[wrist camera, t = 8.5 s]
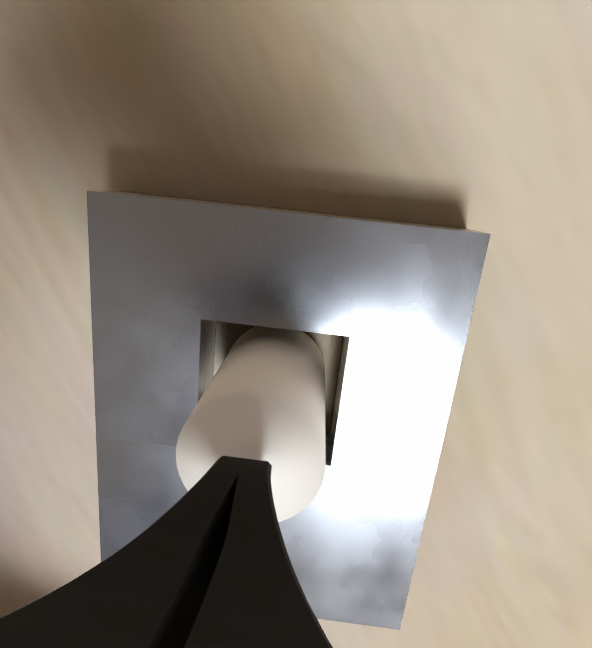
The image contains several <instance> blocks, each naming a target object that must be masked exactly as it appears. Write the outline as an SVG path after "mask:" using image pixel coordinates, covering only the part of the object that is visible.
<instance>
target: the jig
mask: <svg viewBox="0 0 592 648" xmlns="http://www.w3.org/2000/svg"><path fill="white" fill-rule="evenodd" d="M87 208H88V234H89V260H90V286H91V312H92V338H93V364H94V390H95V416H96V442H97V468H98V494H99V520H100V546H101V562H102V561H104V560H105V559H107V558H108V557H110V556H111V555H113V554H114V553H116V552H117V551H118V550H120V549H121V548H123V547H124V546H125V545H127V544H128V543H129V542H131V541H132V540H133V539H135V538H136V537H137V536H138V535H140V534H141V533H142V532H143V531H145V530H146V529H147V528H148V527H150V526H151V525H152V524H153V523H154V522H155V521H156V520H158V519H159V518H160V517H161V516H162V515H163V514H164V513H166V512H167V511H168V510H169V509H170V508H171V507H172V506H173V505H175V504H176V503H177V502H178V501H179V500H180V499H181V498H182V497H183V496H184V495H185V494H186V493H187V492H188V491H187V489H186V488H185V486H184V484H183V483H182V480H181V478H180V476H179V472H178V469H177V464H176V446H177V441H178V438H179V435H180V432H181V430H182V428H183V426H184V425H185V423H186V421H187V420H188V418H189V417H190V415H191V413H192V412H193V410H194V408H195V407H196V405H197V404H198V402H199V400H200V399H201V397H202V395H203V394H204V392H205V390H206V389H207V387H208V386H209V384H210V382H211V381H212V379H213V373H214V353H215V333H216V321H220V322H228V323H237V324H245V325H254V326H263V327H271V328H280V329H288V330H297V331H306V332H314V333H323V334H331V335H340V336H344V340H343V347H342V354H341V361H340V368H339V375H338V382H337V389H336V396H335V403H334V410H333V417H332V425H331V432H330V434H329V433H325V453H326V468H325V476H324V479H323V483H322V486H321V488H320V490H319V492H318V494H317V495H316V497H315V498H314V499H313V501H312V502H311V503H310V504H309V505H308V506H307V507H306V508H305V509H303V510H302V511H301V512H299V513H298V514H296V515H295V516H293V517H291V518H289V519H287V520H284V521H281V522H278V523H279V527H280V530H281V534H282V537H283V540H284V544H285V547H286V550H287V553H288V556H289V558H290V561H291V564H292V566H293V569H294V571H295V574H296V576H297V579H298V581H299V583H300V585H301V588H302V590H303V592H304V594H305V597H306V599H307V601H308V603H309V605H310V607H311V609H312V611H313V612H314V614H315V616H316V618H318V619H325V620H332V621H340V622H347V623H354V624H361V625H369V626H376V627H383V628H391V629H398V630H400V626H401V621H402V617H403V613H404V608H405V604H406V599H407V595H408V591H409V586H410V582H411V578H412V573H413V569H414V565H415V560H416V556H417V552H418V547H419V543H420V539H421V534H422V530H423V525H424V521H425V517H426V512H427V508H428V504H429V499H430V495H431V491H432V486H433V482H434V478H435V473H436V469H437V465H438V460H439V456H440V452H441V447H442V443H443V438H444V434H445V430H446V425H447V421H448V417H449V412H450V408H451V404H452V399H453V395H454V391H455V386H456V382H457V378H458V373H459V369H460V364H461V360H462V356H463V351H464V347H465V343H466V338H467V334H468V330H469V325H470V321H471V317H472V312H473V308H474V304H475V299H476V295H477V290H478V286H479V282H480V277H481V273H482V269H483V264H484V260H485V256H486V251H487V247H488V243H489V238H490V234H487V233H483V232H478V231H474V230H469V229H463V228H453V227H444V226H435V225H425V224H416V223H407V222H397V221H388V220H379V219H370V218H360V217H351V216H342V215H332V214H323V213H314V212H304V211H295V210H286V209H277V208H267V207H258V206H249V205H239V204H230V203H221V202H212V201H202V200H193V199H184V198H174V197H165V196H156V195H146V194H137V193H128V192H116V191H87Z"/></svg>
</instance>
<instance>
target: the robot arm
mask: <svg viewBox="0 0 592 648" xmlns="http://www.w3.org/2000/svg"><path fill="white" fill-rule="evenodd" d="M271 470H272V465H271V464H270V463H269V462H268V461H262V460H254V459H246V458H238V457H230V456H221V457H220V458H219V459H218V460H217V461H216V462H215V463H214V464H213V465H212V467H211V468H210V469H209V470H208V471H207V472H206V473H205V474H204V475H203V477H202V478H201V479H200V480H199V481H198V482H197V483H196V484H195V485H194V486H193V487H192V488H191V489H190V490H189V491H188V492H187V493H186V494H185V495H184V496H183V497H182V498H181V499H180V500H179V501H178V502H177V503H176V504H175V505H173V506H172V507H171V508H170V509H169V510H168V511H167V512H166V513H164V514H163V515H162V516H161V517H160V518H159V519H158V520H156V521H155V522H154V523H153V524H152V525H151V526H150V527H148V528H147V529H146V530H145V531H143V532H142V533H141V534H140V535H138V536H137V537H136V538H135V539H133V540H132V541H131V542H129V543H128V544H127V545H125V546H124V547H123V548H121V549H120V550H118V551H117V552H116V553H114V554H113V555H111V556H110V557H108V558H107V559H105V560H104V561H102V562H101V563H99V564H98V565H96V566H95V567H93V568H92V569H90V570H89V571H87V572H85V573H84V574H82V575H81V576H79V577H78V578H76V579H74V580H73V581H71V582H69V583H68V584H66V585H64V586H62V587H61V588H59V589H57V590H55V591H53V592H52V593H50V594H48V595H46V596H44V597H42V598H41V599H39V600H37V601H35V602H33V603H31V604H29V605H27V606H25V607H23V608H21V609H19V610H17V611H15V612H13V613H11V614H9V615H7V616H5V617H3V618H1V619H0V648H333V647H332V646H331V644H330V642H329V641H328V639H327V637H326V635H325V633H324V631H323V630H322V628H321V626H320V624H319V622H318V620H317V618H316V616H315V614H314V612H313V611H312V609H311V607H310V605H309V603H308V601H307V599H306V597H305V594H304V592H303V590H302V588H301V585H300V583H299V581H298V579H297V576H296V574H295V571H294V569H293V566H292V564H291V561H290V558H289V556H288V553H287V550H286V547H285V544H284V540H283V537H282V534H281V530H280V527H279V523H278V519H277V515H276V510H275V506H274V501H273V495H272V487H271Z"/></svg>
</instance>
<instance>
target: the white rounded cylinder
mask: <svg viewBox="0 0 592 648" xmlns="http://www.w3.org/2000/svg"><path fill="white" fill-rule="evenodd" d="M221 456H230V457H238V458H246V459H254V460H262V461H268V462H269V463H270V464H271V465H272V470H271V487H272V495H273V501H274V506H275V510H276V515H277V519H278V522H281V521H284V520H287V519H289V518H291V517H293V516H295V515H296V514H298V513H299V512H301V511H302V510H303V509H305V508H306V507H307V506H308V505H309V504H310V503H311V502H312V501H313V499H314V498H315V497H316V495H317V494H318V492H319V490H320V488H321V486H322V483H323V479H324V476H325V468H326V453H325V364H324V359H323V356H322V353H321V351H320V349H319V348H318V346H317V344H316V343H315V342H314V341H313V340H312V338H310V337H309V336H308V335H307V334H306V333H304V332H303V331H297V330H288V329H280V328H271V327H263V326H256V327H254V328H251V329H250V330H248V331H246V332H245V333H244V334H243V335H241V336H240V337H239V338H238V339H237V341H236V342H235V344H234V345H233V347H232V348H231V350H230V351H229V353H228V355H227V356H226V358H225V360H224V361H223V363H222V364H221V366H220V368H219V369H218V371H217V373H216V374H215V376H214V377H213V379H212V381H211V382H210V384H209V386H208V387H207V389H206V390H205V392H204V394H203V395H202V397H201V399H200V400H199V402H198V404H197V405H196V407H195V408H194V410H193V412H192V413H191V415H190V417H189V418H188V420H187V421H186V423H185V425H184V426H183V428H182V430H181V432H180V435H179V438H178V441H177V446H176V464H177V469H178V472H179V476H180V478H181V480H182V483H183V484H184V486H185V488H186V489H187V491H189V490H190V489H191V488H192V487H193V486H194V485H195V484H196V483H197V482H198V481H199V480H200V479H201V478H202V477H203V475H204V474H205V473H206V472H207V471H208V470H209V469H210V468H211V467H212V465H213V464H214V463H215V462H216V461H217V460H218V459H219V458H220V457H221Z"/></svg>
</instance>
